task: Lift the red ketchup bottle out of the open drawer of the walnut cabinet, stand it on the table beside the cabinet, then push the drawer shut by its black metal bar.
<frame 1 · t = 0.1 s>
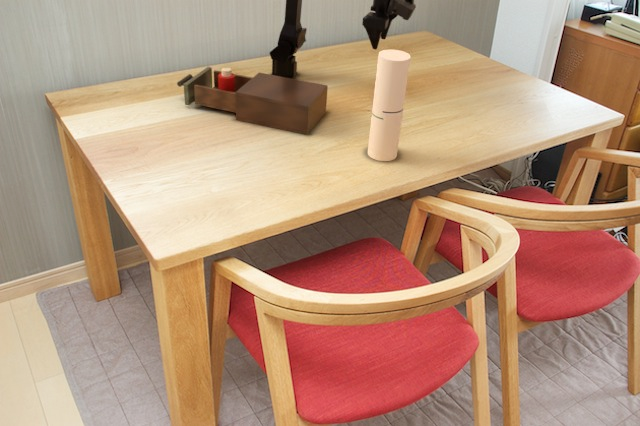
hand: (379, 44, 182), 15 cm above the table, tool pointing down, fingers open, 9 cm apart
ketchup bottle: (227, 97, 177), point 2 cm above the table, touching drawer
cabinet: (281, 116, 174), on the table
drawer: (220, 90, 176), point 4 cm above the table, slide at 14.0 cm, touching ketchup bottle
cylindrical container: (382, 154, 160), on the table
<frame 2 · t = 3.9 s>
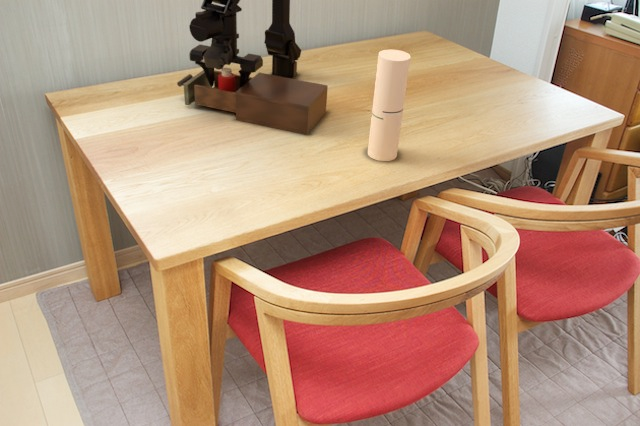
hand: (226, 88, 175), 5 cm above the table, tool pointing down, fingers open, 8 cm apart
nothing on the table moved.
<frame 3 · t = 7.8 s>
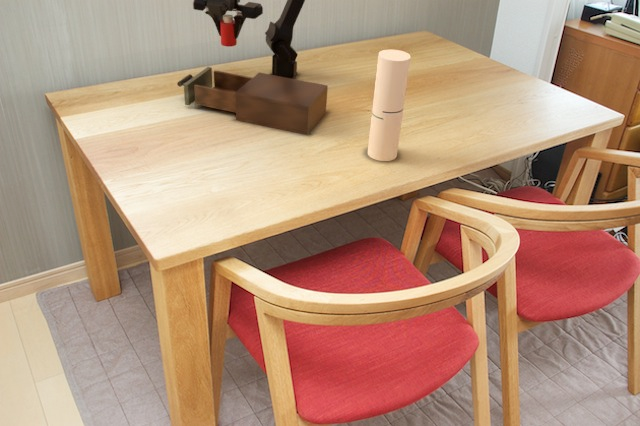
hand: (228, 37, 185), 13 cm above the table, tool pointing down, fingers closed on ketchup bottle, 4 cm apart
ketchup bottle: (228, 44, 186), point 11 cm above the table, touching gripper
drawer: (220, 90, 176), point 4 cm above the table, slide at 14.0 cm
everything else where it was.
when the fingers open (2 cm above the table, at t = 10.8 s): ketchup bottle stays where it is, on the table.
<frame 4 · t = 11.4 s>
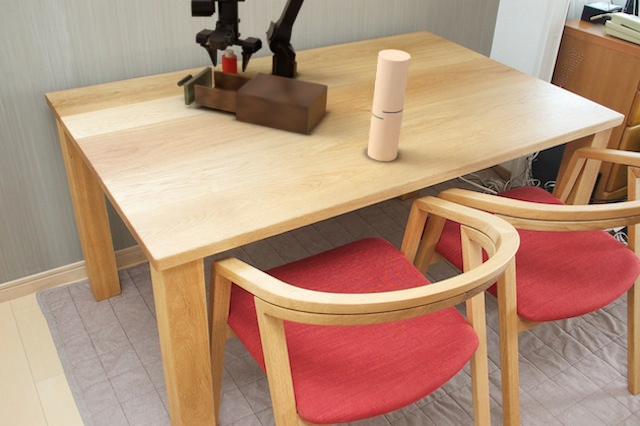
hand: (229, 69, 193), 2 cm above the table, tool pointing down, fingers open, 9 cm apart
ketchup bottle: (229, 76, 194), on the table
everything else where it was.
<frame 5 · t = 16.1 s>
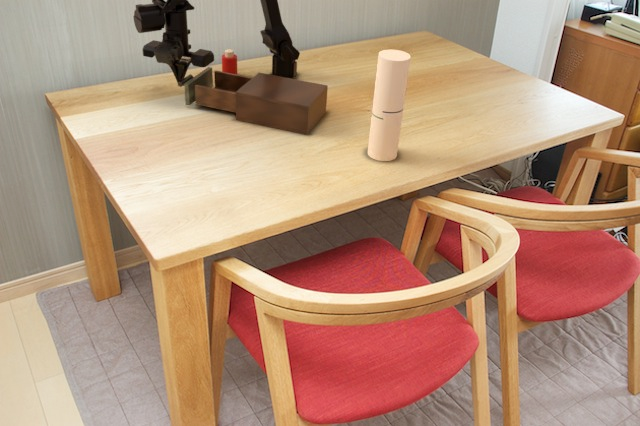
hand: (180, 83, 180), 3 cm above the table, tool pointing down, fingers closed
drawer: (221, 90, 176), point 4 cm above the table, slide at 13.8 cm, touching gripper
everything else where it was.
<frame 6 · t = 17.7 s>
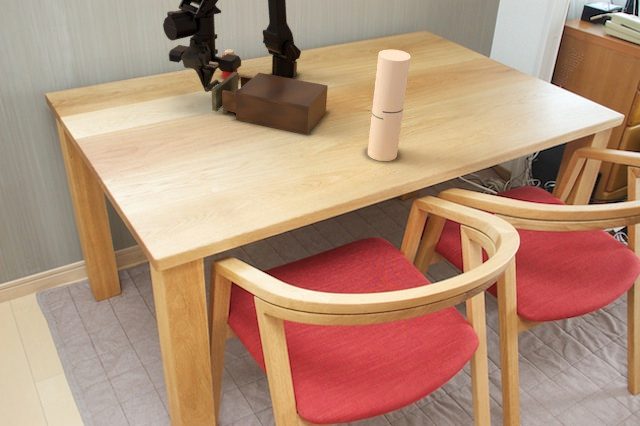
hand: (206, 88, 178), 3 cm above the table, tool pointing down, fingers closed
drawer: (248, 95, 174), point 4 cm above the table, slide at 5.9 cm, touching gripper
everything else where it was.
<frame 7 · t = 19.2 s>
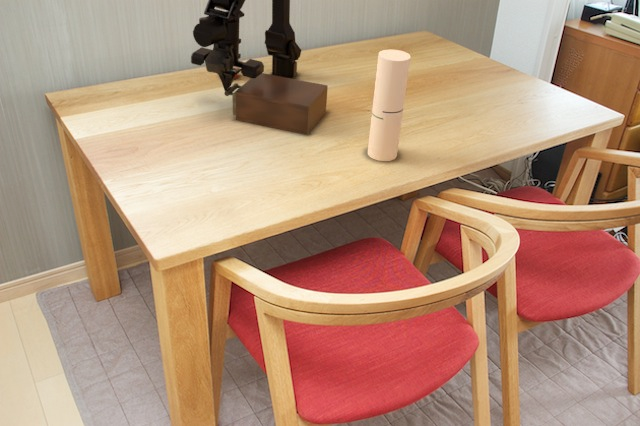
hand: (226, 92, 176), 3 cm above the table, tool pointing down, fingers closed
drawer: (268, 99, 173), point 4 cm above the table, slide at 0.0 cm, touching cabinet, gripper
everything else where it was.
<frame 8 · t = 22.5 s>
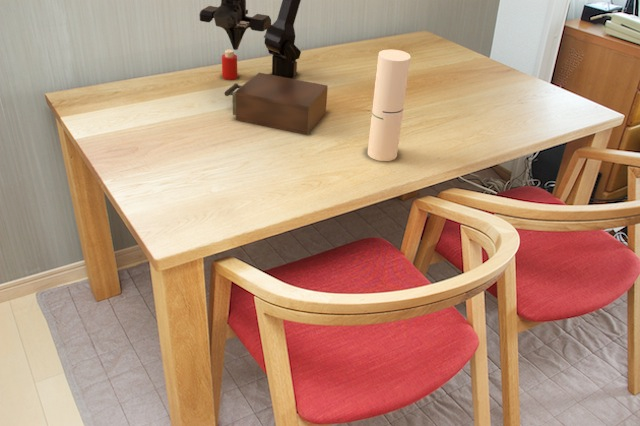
hand: (235, 49, 180), 12 cm above the table, tool pointing down, fingers closed
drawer: (268, 99, 173), point 4 cm above the table, slide at 0.0 cm, touching cabinet
everything else where it was.
at the end: ketchup bottle inside the target area (0.1 cm from its centre), on the table; ketchup bottle tilted 0°; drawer slide at 0.0 cm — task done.
